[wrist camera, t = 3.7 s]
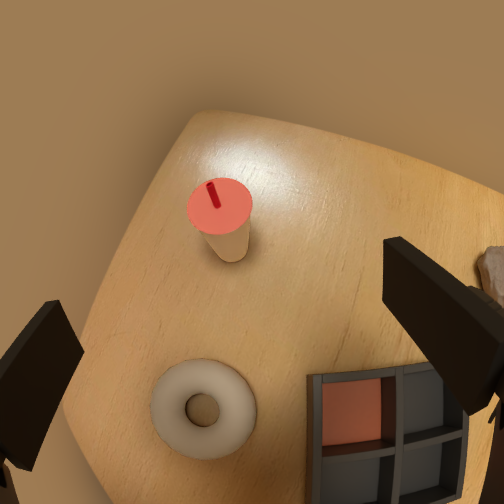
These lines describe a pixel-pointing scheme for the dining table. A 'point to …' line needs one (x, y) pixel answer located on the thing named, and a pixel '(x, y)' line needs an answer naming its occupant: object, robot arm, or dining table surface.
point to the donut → (221, 390)
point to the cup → (222, 216)
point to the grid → (384, 437)
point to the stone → (493, 273)
